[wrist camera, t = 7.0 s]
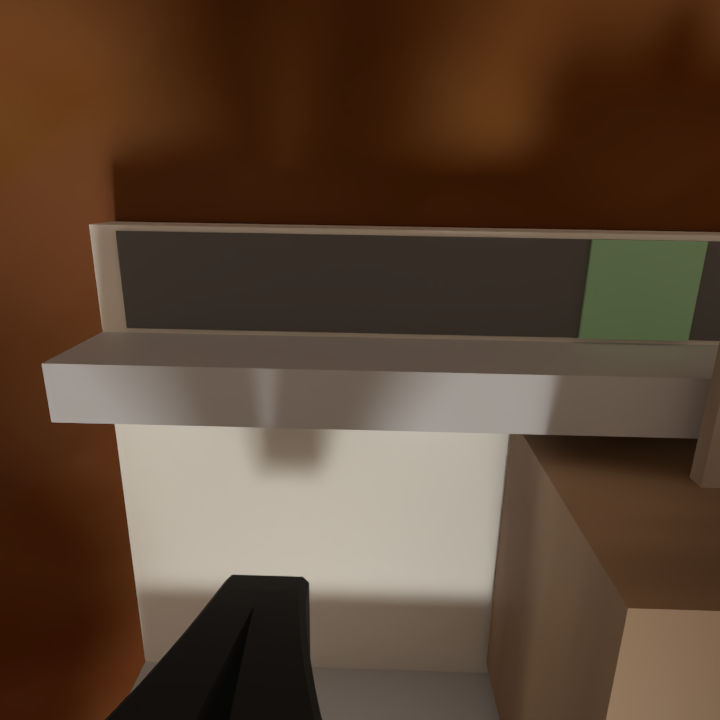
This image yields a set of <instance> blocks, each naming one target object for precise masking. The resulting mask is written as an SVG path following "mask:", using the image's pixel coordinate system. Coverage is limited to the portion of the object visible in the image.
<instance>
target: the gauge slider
mask: <svg viewBox="0 0 720 720" xmlns="http://www.w3.org/2000/svg"><path fill="white" fill-rule="evenodd" d="M487 667H488V672H489V676H490V680H491V684H492V689H493V693H494V697H495V701H496V706H497V710H498V714H499V718H500V720H720V342H719V346H718V351H717V355H716V360H715V364H714V369H713V373H712V378H711V382H710V387H709V392H708V396H707V401H706V405H705V410H704V414H703V419H702V423H701V428H700V432H699V437H698V439H694V438H654V437H614V436H575V435H535V434H511V440H510V449H509V458H508V468H507V477H506V486H505V496H504V505H503V514H502V524H501V533H500V542H499V551H498V561H497V570H496V579H495V589H494V598H493V607H492V616H491V626H490V635H489V644H488V654H487Z"/></svg>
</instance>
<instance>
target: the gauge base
mask: <svg viewBox="0 0 720 720" xmlns="http://www.w3.org/2000/svg"><path fill="white" fill-rule="evenodd" d="M89 229H90V237H91V244H92V252H93V260H94V268H95V275H96V283H97V291H98V299H99V306H100V314H101V322H102V330H103V332H102V333H100V334H98V335H96V336H94V337H92V338H90V339H88V340H86V341H84V342H82V343H80V344H78V345H76V346H74V347H72V348H71V349H69V350H67V351H65V352H63V353H61V354H59V355H57V356H55V357H53V358H51V359H49V360H47V361H45V362H43V363H42V369H43V375H44V381H45V387H46V393H47V399H48V405H49V411H50V417H51V422H59V423H99V424H115V430H116V438H117V445H118V453H119V461H120V469H121V476H122V484H123V492H124V500H125V507H126V515H127V523H128V530H129V538H130V546H131V554H132V561H133V569H134V577H135V585H136V592H137V600H138V608H139V616H140V623H141V631H142V639H143V646H144V654H145V663H144V665H143V667H142V669H141V672H140V674H139V676H138V678H137V680H136V682H135V684H134V686H133V688H132V690H131V692H132V691H133V690H134V689H135V688H136V687H137V686H138V685H139V684H140V682H141V681H142V680H143V679H144V678H145V677H146V676H147V675H148V674H149V672H150V671H151V670H152V669H153V668H154V667H155V666H156V664H157V663H158V662H159V661H160V660H161V659H162V658H163V656H164V655H165V654H166V653H167V652H168V651H169V649H170V648H171V647H172V646H173V645H174V644H175V643H176V641H177V640H178V639H179V638H180V637H181V636H182V634H183V633H184V632H185V631H186V630H187V628H188V627H189V626H190V625H191V623H192V622H193V621H194V620H195V619H196V617H197V616H198V615H199V614H200V612H201V611H202V610H203V609H204V607H205V606H206V605H207V604H208V602H209V601H210V600H211V599H212V597H213V596H214V595H215V593H216V592H217V591H218V590H219V588H220V587H221V586H222V584H223V583H224V582H225V581H226V580H227V579H228V578H229V577H230V576H231V575H262V576H295V577H304V578H305V579H306V580H307V581H308V582H309V603H310V659H311V665H312V671H313V677H314V683H315V689H316V694H317V699H318V703H319V708H320V713H321V717H322V720H500V718H499V714H498V710H497V706H496V701H495V697H494V693H493V689H492V684H491V680H490V676H489V672H488V667H487V654H488V644H489V635H490V626H491V616H492V607H493V598H494V589H495V579H496V570H497V561H498V551H499V542H500V533H501V524H502V514H503V505H504V496H505V486H506V477H507V468H508V458H509V449H510V440H511V434H535V435H575V436H614V437H654V438H694V439H698V437H699V432H700V428H701V423H702V419H703V414H704V410H705V405H706V401H707V396H708V392H709V387H710V382H711V378H712V373H713V369H714V364H715V360H716V355H717V351H718V346H719V342H720V232H684V231H627V230H570V229H513V228H456V227H399V226H342V225H285V224H228V223H171V222H106V223H97V224H89ZM131 692H130V693H131Z"/></svg>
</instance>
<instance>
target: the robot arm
mask: <svg viewBox="0 0 720 720" xmlns="http://www.w3.org/2000/svg"><path fill="white" fill-rule="evenodd" d="M105 720H322V717H321V713H320V708H319V703H318V699H317V694H316V689H315V683H314V677H313V671H312V665H311V659H310V603H309V582H308V581H307V580H306V579H305V578H304V577H295V576H262V575H231V576H230V577H229V578H228V579H227V580H226V581H225V582H224V583H223V584H222V586H221V587H220V588H219V590H218V591H217V592H216V593H215V595H214V596H213V597H212V599H211V600H210V601H209V602H208V604H207V605H206V606H205V607H204V609H203V610H202V611H201V612H200V614H199V615H198V616H197V617H196V619H195V620H194V621H193V622H192V623H191V625H190V626H189V627H188V628H187V630H186V631H185V632H184V633H183V634H182V636H181V637H180V638H179V639H178V640H177V641H176V643H175V644H174V645H173V646H172V647H171V648H170V649H169V651H168V652H167V653H166V654H165V655H164V656H163V658H162V659H161V660H160V661H159V662H158V663H157V664H156V666H155V667H154V668H153V669H152V670H151V671H150V672H149V674H148V675H147V676H146V677H145V678H144V679H143V680H142V681H141V682H140V684H139V685H138V686H137V687H136V688H135V689H134V690H133V691H132V692H131V693H130V694H129V695H128V696H127V697H126V698H125V699H124V700H123V701H122V702H121V703H120V705H119V706H118V707H117V708H116V709H115V710H114V711H113V712H112V713H111V714H110V715H109V716H108V717H107V718H106V719H105Z"/></svg>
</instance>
